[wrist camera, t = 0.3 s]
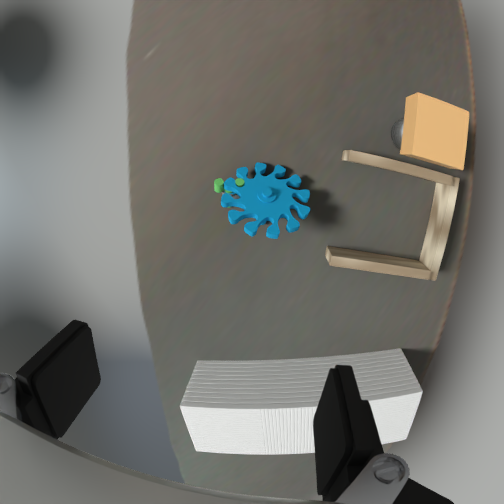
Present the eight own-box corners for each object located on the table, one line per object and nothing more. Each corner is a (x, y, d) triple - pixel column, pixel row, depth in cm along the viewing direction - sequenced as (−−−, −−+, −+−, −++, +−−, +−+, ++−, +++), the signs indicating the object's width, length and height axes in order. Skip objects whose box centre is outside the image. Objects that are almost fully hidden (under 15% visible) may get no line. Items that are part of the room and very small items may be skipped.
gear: (322, 177, 35) (296, 246, 30) (311, 206, 40) (285, 270, 36) (235, 146, 36) (195, 206, 32) (234, 177, 41) (199, 235, 37)
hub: (406, 97, 26) (418, 92, 23) (454, 114, 26) (469, 111, 23) (399, 154, 28) (411, 154, 25) (448, 168, 28) (463, 170, 25)
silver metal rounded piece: (393, 115, 33) (412, 108, 27) (422, 123, 33) (446, 120, 27) (389, 148, 34) (408, 147, 28) (419, 156, 34) (442, 157, 28)
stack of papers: (209, 405, 50) (196, 451, 39) (197, 359, 46) (179, 406, 36) (390, 395, 46) (406, 439, 36) (400, 347, 43) (423, 391, 33)
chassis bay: (343, 150, 35) (350, 150, 31) (444, 175, 34) (459, 178, 31) (325, 254, 39) (329, 265, 35) (423, 269, 38) (435, 280, 35)
